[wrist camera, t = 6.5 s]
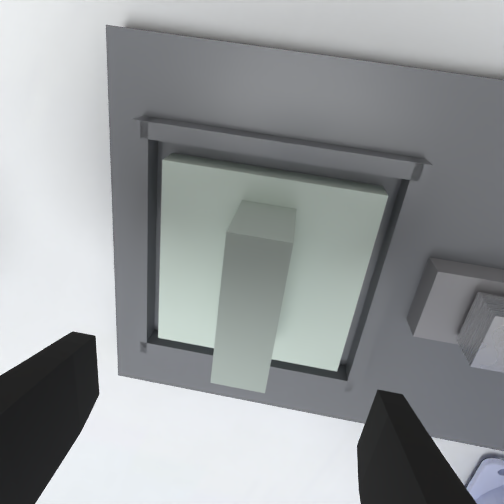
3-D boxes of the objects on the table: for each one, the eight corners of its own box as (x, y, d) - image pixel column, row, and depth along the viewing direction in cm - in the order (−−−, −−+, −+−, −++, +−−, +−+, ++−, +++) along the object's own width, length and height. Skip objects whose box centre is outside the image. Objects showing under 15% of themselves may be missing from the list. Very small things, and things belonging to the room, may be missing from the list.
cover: (382, 186, 15) (408, 229, 11) (335, 353, 18) (342, 429, 14) (172, 153, 15) (127, 182, 11) (167, 321, 19) (130, 387, 15)
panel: (684, 105, 14) (765, 115, 11) (498, 427, 21) (522, 475, 18) (124, 28, 15) (88, 21, 12) (129, 356, 22) (107, 392, 20)
